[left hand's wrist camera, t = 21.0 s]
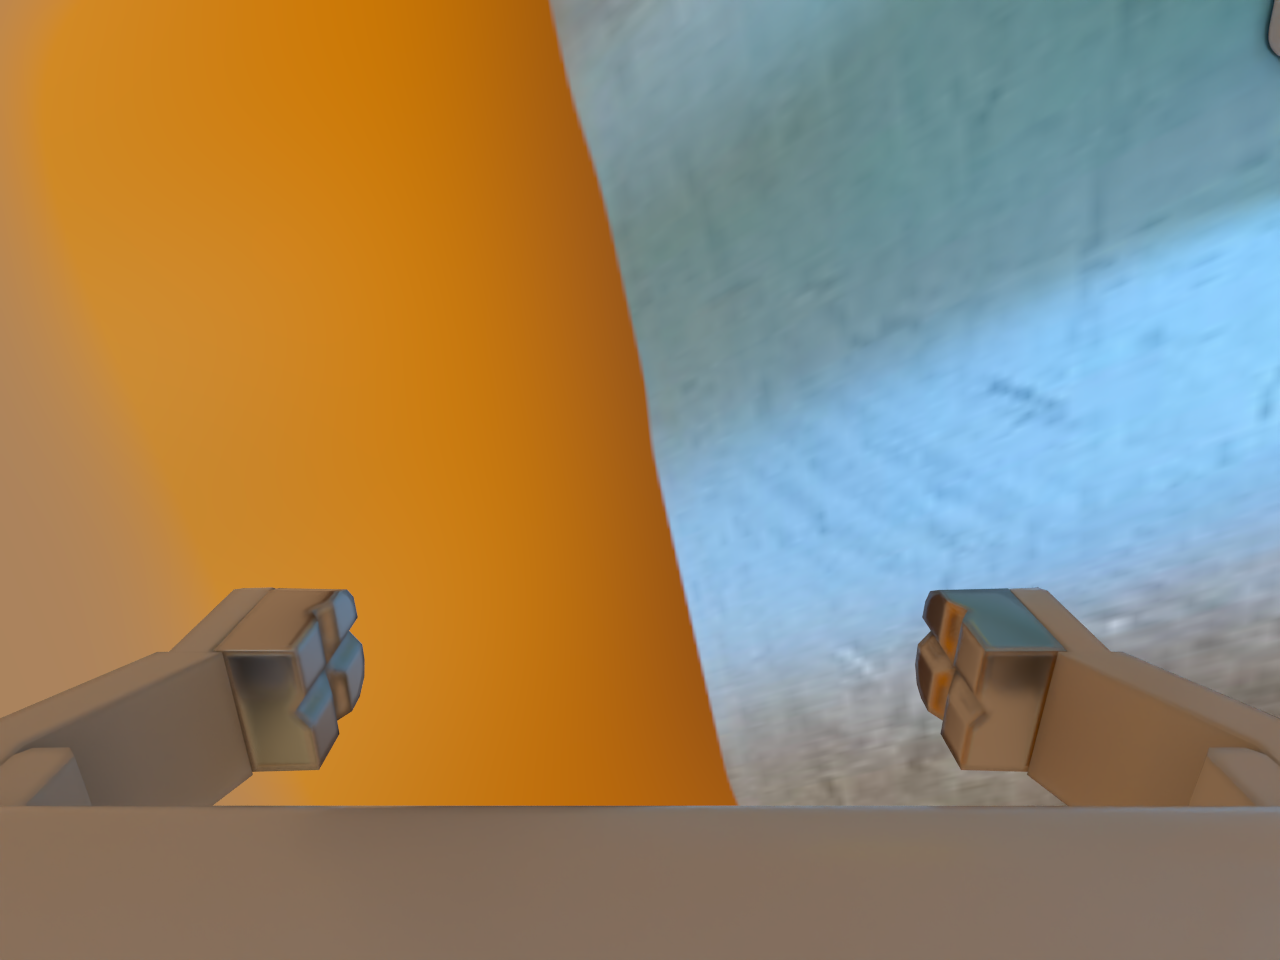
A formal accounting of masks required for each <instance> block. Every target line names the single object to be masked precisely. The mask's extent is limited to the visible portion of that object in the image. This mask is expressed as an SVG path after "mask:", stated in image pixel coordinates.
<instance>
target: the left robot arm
mask: <svg viewBox="0 0 1280 960" xmlns="http://www.w3.org/2000/svg"><path fill="white" fill-rule="evenodd" d="M1268 36H1269V43H1270V46H1271V48H1272V50H1273V51H1274V52H1275V53H1276V54H1277V55H1278V56H1279V57H1280V0H1275V1H1274V6H1273V11H1272V16H1271V21H1270V26H1269V34H1268ZM356 619H357V612H356V607H355V603H354V598H353V596H352V595H351V594H350V593H349V591H348V590H340V589H287V588H278V589H275V588H242V589H235V590H233V591H232V592H231V593H230V594H229V595H228V596H227V597H226V598H225V599H224V600H223V601H222V602H221V603H219V604H218V605H217V606H216V607H215V608H214V609H213V610H212V611H211V612H210V613H209V614H208V615H207V616H206V617H205V618H204V619H203V620H202V621H201V622H200V623H199V624H198V625H197V626H196V627H194V628H193V629H192V630H191V631H190V632H189V633H188V634H187V635H186V636H185V637H184V638H183V639H182V640H181V641H180V642H179V643H178V644H177V645H176V646H175V647H174V648H173V649H172V650H171V651H169V652H156V653H154V654H151V655H149V656H146V657H144V658H142V659H139V660H137V661H135V662H132V663H130V664H128V665H125V666H123V667H120V668H118V669H116V670H113V671H111V672H109V673H106V674H104V675H102V676H99V677H97V678H95V679H92V680H90V681H87V682H85V683H83V684H80V685H78V686H76V687H73V688H71V689H69V690H66V691H64V692H61V693H59V694H57V695H54V696H52V697H50V698H47V699H45V700H43V701H40V702H38V703H35V704H33V705H31V706H28V707H26V708H24V709H21V710H19V711H17V712H14V713H12V714H10V715H7V716H5V717H2V718H0V960H1280V718H1277V717H1275V716H1273V715H1270V714H1268V713H1265V712H1263V711H1261V710H1258V709H1256V708H1254V707H1251V706H1249V705H1247V704H1244V703H1242V702H1240V701H1237V700H1235V699H1232V698H1230V697H1228V696H1225V695H1223V694H1221V693H1218V692H1216V691H1214V690H1211V689H1209V688H1207V687H1204V686H1202V685H1199V684H1197V683H1195V682H1192V681H1190V680H1188V679H1185V678H1183V677H1181V676H1178V675H1176V674H1174V673H1171V672H1169V671H1166V670H1164V669H1162V668H1159V667H1157V666H1155V665H1152V664H1150V663H1148V662H1145V661H1143V660H1141V659H1138V658H1136V657H1134V656H1131V655H1129V654H1126V653H1124V652H1111V651H1110V650H1108V649H1107V648H1106V647H1105V646H1104V645H1103V644H1102V643H1101V642H1100V641H1099V640H1098V639H1097V638H1096V637H1095V636H1094V635H1093V634H1092V633H1091V632H1090V631H1089V630H1088V629H1087V628H1086V627H1085V626H1084V625H1083V624H1081V623H1080V622H1079V621H1078V620H1077V619H1076V618H1075V617H1074V616H1073V615H1072V614H1071V613H1070V612H1069V611H1068V610H1067V609H1066V608H1065V607H1064V606H1063V605H1062V604H1061V603H1060V602H1059V601H1058V600H1057V599H1056V598H1054V597H1053V596H1052V595H1051V594H1050V593H1049V592H1048V591H1047V590H1044V589H1041V588H1038V587H1036V588H1012V589H1008V588H1005V589H964V590H936V591H930V593H929V595H928V597H927V599H926V601H925V606H924V611H923V619H924V621H925V622H926V624H927V625H928V627H929V628H930V630H931V631H930V633H929V634H928V635H927V636H926V637H925V638H924V639H923V640H922V641H921V642H920V643H919V644H918V648H917V655H916V663H915V668H916V679H917V686H918V689H919V693H920V696H921V699H922V701H923V703H924V704H925V706H926V708H927V710H928V711H929V712H930V713H932V714H933V715H935V716H937V717H938V718H940V719H941V720H943V724H942V729H941V735H942V737H943V739H944V741H945V742H946V744H947V746H948V748H949V749H950V751H951V753H952V755H953V756H954V758H955V760H956V762H957V763H958V765H959V767H960V769H961V770H985V771H1021V772H1028V773H1027V775H1028V776H1030V777H1031V778H1032V779H1034V780H1035V781H1036V782H1038V783H1039V784H1040V785H1042V786H1043V787H1044V788H1045V789H1047V790H1048V791H1049V792H1051V793H1052V794H1053V795H1055V796H1056V797H1057V798H1059V799H1060V800H1061V801H1062V802H1064V803H1065V804H1066V805H1068V806H213V805H214V804H215V803H216V802H218V801H219V800H220V799H222V798H223V797H224V796H225V795H227V794H228V793H230V792H231V791H232V790H234V789H235V788H236V787H237V786H239V785H240V784H241V783H243V782H244V781H245V780H247V779H248V778H249V777H251V776H252V772H257V771H294V770H319V769H320V767H321V765H322V764H323V762H324V760H325V758H326V756H327V755H328V753H329V751H330V749H331V748H332V746H333V744H334V742H335V741H336V739H337V737H338V735H339V729H338V724H337V720H339V719H340V718H342V717H343V716H345V715H347V714H348V713H350V712H351V711H352V710H353V708H354V706H355V704H356V702H357V700H358V698H359V697H360V693H361V688H362V684H363V680H364V654H363V647H362V644H361V643H360V642H359V641H358V640H357V639H356V638H355V637H354V636H353V635H352V634H351V633H350V631H349V630H350V628H351V627H352V625H353V624H354V622H355V620H356Z"/></svg>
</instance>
